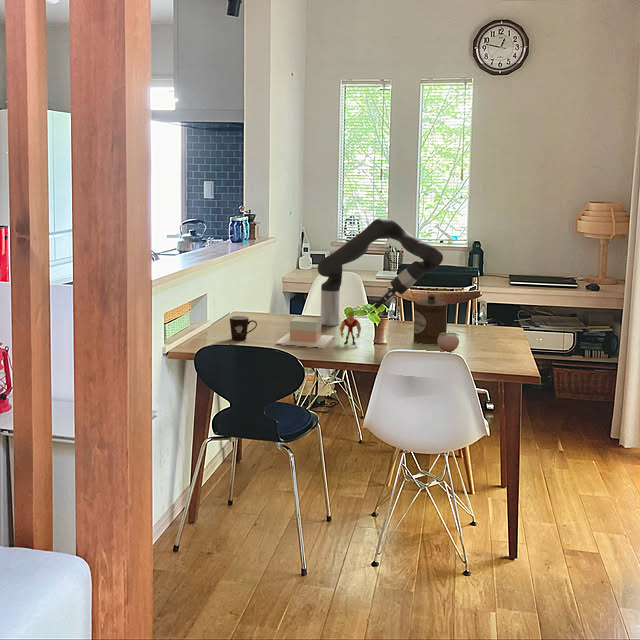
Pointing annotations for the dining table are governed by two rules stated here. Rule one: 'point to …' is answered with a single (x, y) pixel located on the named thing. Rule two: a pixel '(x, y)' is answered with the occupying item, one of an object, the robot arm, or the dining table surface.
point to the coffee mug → (240, 327)
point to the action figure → (350, 327)
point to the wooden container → (429, 320)
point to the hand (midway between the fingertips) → (376, 305)
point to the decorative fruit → (448, 341)
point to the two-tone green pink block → (305, 333)
